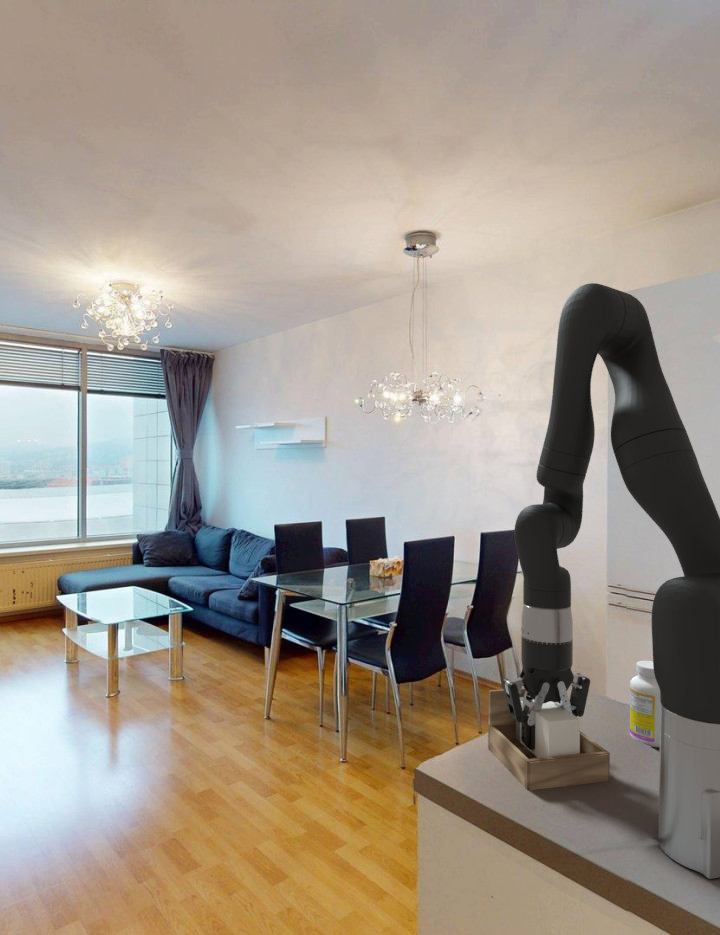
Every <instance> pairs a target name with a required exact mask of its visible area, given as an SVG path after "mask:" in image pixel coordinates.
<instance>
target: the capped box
mask: <svg viewBox="0 0 720 935" xmlns="http://www.w3.org/2000/svg"><path fill="white" fill-rule="evenodd" d="M523 698H524V697H520V702H521V706H522V707H523ZM533 702H534V699H533ZM529 710H530V708H529ZM580 721H581V719H580V717H579V716H577V717H576V716H574V715H573V714H571V713H570V712H568V711H567V710H563V709H562V708H561V707H559V706H558V705H556V704H554V702H551V701H550V702H547V703H543V705H542V708H541V711H540V712H536V720H535V723H534V725H535V749H532V750H530V749H529V748H527V747H526V746H525V744H524V743H523V742H522V740H521V722H518V721H516V739H517V740H518V741H519V742H520V743H521V744H523V745H524V746H525V747H526V748H527V749H528V750H529V751H531V752H532V753H533V754H534V755H535V756H536V757H538V758H544V757H554V756H563V755H573V754H580V731H581V727H580V726H581V724H580V723H581V722H580Z"/></svg>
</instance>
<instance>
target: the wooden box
mask: <svg viewBox="0 0 720 935" xmlns="http://www.w3.org/2000/svg"><path fill="white" fill-rule="evenodd" d="M525 692H526V689H525V688H524V687H521V694H519V697H524V695H525ZM487 723H488V730H487V731H488V734H487V735H488V737H487V738H488V740H487V743H488V744H487V749H488V751H490V752H491V753H492V755H494V757H495V758H496V759H497V760H498V761H499V762H500V763H501V765H503V766H504V767H505V768H506V770H508V772H509V773H510V774H512V776H513V777H514V778H515V779H516V780H517V781H518V782H519V783H520V784H521V785H522V786H523V787H524V788H525V789H526V790H529V791H534V790H543V789H552V788H553V789H554V788H559V787H560V788H562V787H570V786H576V785H577V786H578V785H585V784H587V785H588V784H595V783H604V782H609V781H610V770H611V769H610V765H611V764H610V763H611V762H610V758H611V755H610V754H611V753H610V752H609V751H608V750H606V749H605V748H604V747H603V746H601V745H600V744H598V743H597V742H596V741H594V740H593V739H592V738H590V737H589V736H587V735H586V734H585V733H583V731H581V730H580V754H573V755H563V756H554V757H544V758H538V757H536V756H535V755H534V754H533V753H532V752H531V751H529V750H528V749H527V748H526V747H525V746H524V745H523V744H521V743H520V742H519V741H518V740H517V739H516V720H515V719H514V718H513V717H511V716H510V714H509V710H508V706H507V701H506V697H505V692H504V688H502V689H501V688H500V689H489V690H488V722H487Z"/></svg>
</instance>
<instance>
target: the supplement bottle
mask: <svg viewBox="0 0 720 935" xmlns="http://www.w3.org/2000/svg"><path fill="white" fill-rule="evenodd" d="M635 666H636V667H635V670H636V672H637V675H635V676H633V677H632V678H631V679H630V681H629V734H630V737H632V738H633V739H634V740H636V741H638V742H641V743H643V744H645V745H648V746H649V747H651V748H660V689H659V686H658V684H657V681H656V678H655V674H654V668H653V660H640V661H639V660H638V661H637V662H636V665H635Z"/></svg>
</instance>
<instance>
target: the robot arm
mask: <svg viewBox="0 0 720 935" xmlns="http://www.w3.org/2000/svg"><path fill="white" fill-rule="evenodd" d="M556 340H557V341H556V342H557V343H556V354H555V355H556V356H555V360H554V361H555V363H554V375H553V385H552V396H551V405H550V413H549V418H548V425H547V429H546V434H545V436H544V441H543V445H542V450H541V453H540V456H539V457H540V458H539V461H538V464H537V470H536V477H535V478H536V480H537V482H538V484H539V485H540V486H542V487H543V489H544V491H543V498H542V504H540V503H539V504H531V505H528V506H526V507H524V508H523V509H522V510H521V511H520V512H519V514H518V516H517V518H516V520H515V525H514V542H515V548H516V553H517V556H518V561H519V565H520V568H521V572H522V575H523V586H522V588H523V589H522V592H523V596H522V597H523V598H522V599H523V602H522V612H521V626H520V631H521V638H520V639H521V642H520V643H521V646H520V647H521V651H520V652H521V661H520V662H521V668H522V669H521V671H520V674H519V676H518V677H516V678H513V679H508V678H504V679H503V680H502V687H503V688H502V689H504V692H505V697H506V701H507V706H508V710H509V714H510V716H511V717H513V718H514V719H515V720H516V721H518V722H521V740H522V742H523V743H524V744H525V746H526V747H527V748H529V749H530V750H532V749H535V725H534V723H535V720H536V712H540V711H541V708H542V705H543V703H547V702H550V701H551V702H554V704H556V705H558V706H559V707H561V708H562V709H563V710H567V711H568V712H570V713H571V714H573V715H574V716H576V717H578V718H582V717H583V716H584V714H585V709H586V704H587V700H588V695H589V690H590V686H591V680H590V678H589V677H587V676H585V675H583V674H581V673H580V672H578V673H573V672H572V667H573V664H574V663H573V661H574V660H573V657H574V656H573V651H574V650H573V648H574V647H573V646H574V645H573V644H574V643H573V639H574V638H573V637H574V636H573V634H574V632H573V631H574V630H573V628H574V626H573V625H574V624H573V615H572V584H571V583H572V582H571V581H572V580H571V574H570V572H569V570H568V569H566V568H565V567H563V566H561V565H560V560H559V555H558V549H563V548H564V549H565V548H566V547H568V546H570V545H571V544H572V543H573V542H574V541H575V540H576V538H577V536H578V534H579V532H580V529H581V526H582V520H583V512H584V511H583V509H584V482H585V479H586V476H587V472H588V470H589V465H590V462H591V457H592V455H593V454H592V453H593V449H594V444H595V428H596V427H595V420H594V419H595V417H594V413H593V406H592V394H591V389H592V386H591V384H592V383H591V382H592V376H593V370H594V366H595V362H596V359H597V356H598V355H599V356H600V357H601V360H602V361H603V363H604V365H605V367H606V369H607V372H608V375H609V378H610V380H611V383H612V387H613V390H614V407H613V413H612V420H611V427H610V441H611V447H612V450H613V454H614V457H615V460H616V463H617V466H618V470H619V471H620V475H621V478H622V480H623V484H624V485H625V487H626V489H627V491H628V492H629V493H630V495H631V497H632V498H633V499H634V501H635V502H636V503H637V504H638V505H639V506H640V508H641V509H642V510H643V511H644V512H645V513H646V514H647V516H649V518H650V519H651V520H652V521H653V522H654V523H655V525H657V527H658V528H659V529H660V530H661V531H662V532H663V534H664V535H665V537H666V538H667V539H668V541H669V542H670V544H671V546H672V548H673V550H674V552H675V554H676V557H677V559H678V563H679V565H680V567H681V570H682V572H683V576H678V577H673V578H670V579H668V580H665V582H663V583H662V584H661V585H660V586H659V587H658V589H657V591H656V593H655V595H654V598H653V601H652V606H651V639H652V641H651V642H652V661H653V668H654V674H655V678H656V681H657V684H658V686H659V689H660V747H659V765H658V766H659V768H658V769H659V770H658V771H659V772H658V773H659V774H658V776H659V777H658V845H659V847H660V848H661V849H662V851H663V852H664V853H665V854H666V855H667V856H668V857H669V858H670V859H672V860H673V861H675V862H676V863H678V864H680V865H682V866H684V867H686V868H688V869H689V870H693V871H696V872H698V873H700V874H702V875H703V876H705V878H707V879H709V880H711V879H716V878H717V879H719V878H720V515H719V513H718V510H717V508H716V506H715V503H714V500H713V498H712V495H711V493H710V490H709V489H708V486H707V484H706V481H705V478H704V476H703V473H702V470H701V468H700V467H701V466H700V464H699V462H698V458H697V456H696V453H695V450H694V448H693V445H692V442H691V439H690V437H689V434H688V432H687V430H686V426H685V425H684V423H683V421H682V419H681V416H680V413H679V411H678V408H677V406H676V402H675V401H674V397H673V395H672V392H671V390H670V387H669V385H668V382H667V379H666V377H665V375H664V373H663V370H662V367H661V363H660V358H659V356H658V351H657V348H656V344H655V340H654V336H653V331H652V327H651V324H650V320H649V316H648V313H647V311H646V309H645V307H644V305H643V304H642V302H641V301H640V300H639V299H638V298H637V297H636V296H634V295H632V294H631V293H627V292H625V291H621V290H619V289H617V288H613V287H610V286H607V285H603V284H601V283H597V282H595V283H594V282H591V283H586V284H583V285H580V286H579V287H577V288H576V289H575V290H573V291H572V293H570V295H569V296H568V298H567V299H566V301H565V303H564V305H563V308H562V310H561V312H560V317H559V323H558V331H557V339H556ZM570 686H571V692H570V696H569V695H568V693H567V691H568V690H569V688H570ZM521 688H525V689H526V692H525V695H524V698H523V707H522V706H521V702H520V697H519V694H521ZM533 699H534V702H533ZM529 708H530V710H529Z"/></svg>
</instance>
